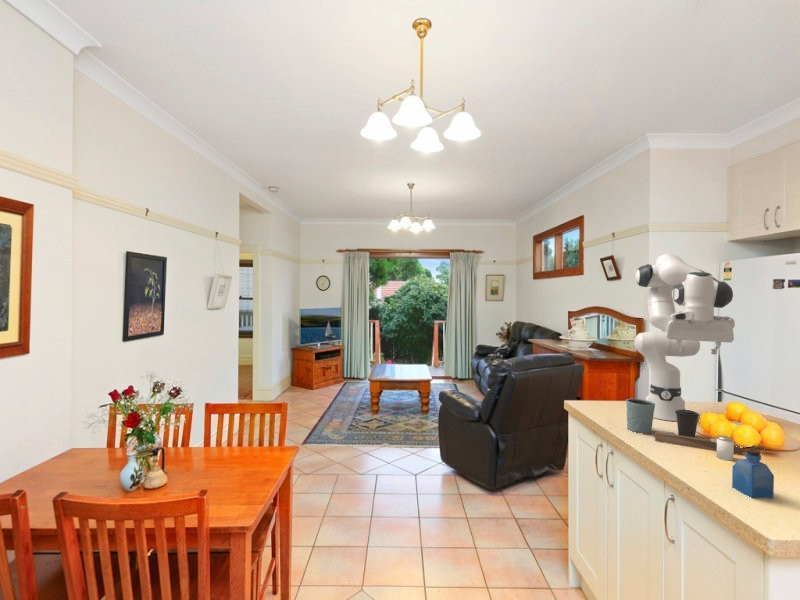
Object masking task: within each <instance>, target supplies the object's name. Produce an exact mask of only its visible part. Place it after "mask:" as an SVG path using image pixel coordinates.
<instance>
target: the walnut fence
mask: <svg viewBox="0 0 800 600" xmlns="http://www.w3.org/2000/svg"><path fill="white" fill-rule="evenodd" d="M658 441H660V443H665V442H666V444H671V443H672V445H679V446H683V447H684V446H685V447H689V448H690V447H691V448H696V449H702V450H703V449H704V450H710V451H714V452H717V438H709V439H705V438H699V437H695V438H694V437H687V436H681V435H679V434H675V433H674V432H672V431H667V432H666V433H665V432H660V431H654V442H658ZM736 446H737V447H736ZM734 453H735V455H738V456H739V455H740V456H744V448H740V446H738V445H734Z"/></svg>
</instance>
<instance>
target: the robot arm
mask: <svg viewBox="0 0 800 600" xmlns="http://www.w3.org/2000/svg"><path fill="white" fill-rule="evenodd" d="M654 263H655V264H649V263H647V264H645V265H642V266H640V267H638V268H637V270H636V273H635V274H634V275H635V281H636V284H637V285H638V286H639V287H642V288H643V287H644V288H648V290H647V295H646V308H647V314H648V321H649V323H650V324H651V325H652V326H653V327H655V328H657V329H659V330H660V331H644V332H638V334H637V335H636V336H635V338H634V343H633V344H634V347H635V349H636V351H637V352H638V353H640V354H641V355H642V356H643V357H644V358H645V359H646V361H647V362H648V364H649V367H650V372H651V373H650V374H651V375H650V376H651V384H650V386H649V389H650V390H649V392H650V393H649V394H648V395H647V396H646V398H645V400H647V401H651V402H653V403H655V409H654V416H653V419H657V420H663V421H672V422H673V421H674V422H677V416H676V413H675V411H676V410H686V401H685V400H684V399H683V398H682V387H681V371H680V369H679V368H678V367H677V366H675V365H674V364H672V363H670V362H668V361H667V359H666V357H679V358H684V357H691V356H695V355H697V354H698V353H699V351H700V349H701V342H711V343H713V342H715V343H714V344H715V345H716V346H715V347H714V348H711V352H710V353H711V355H718V350H719V349H720V347H721V346H722V343H732V342H734V341H735V335H734V328H735V326H736V325H735V324H736V323H735V319H734V318H732V317H730V316H719V315H715V308H719V309H722V308H724V307H726V306H728V305H729V304H730V303H731V302H732V301H733V297H734V292H733V288H732V287H731V286H730V284H729V283H727V282H725V281H721V280H718V279H717V278H715V277H714V276H713V274H712V273H710V272H706V271H704V270H701V269H699V268H697V267H694V266H692V265H690V264H689V263H687V262H685V261H684V260H683V259H682V258H681V257H679V256H677V255H676V254H673V253H664V254H663V253H662V254H661V255H660V256H658V257H657V258H656V260H655V262H654ZM675 303H676V304H677V305H678V306H681V307H684V310H683V311H678V312H676V308H675Z"/></svg>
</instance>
